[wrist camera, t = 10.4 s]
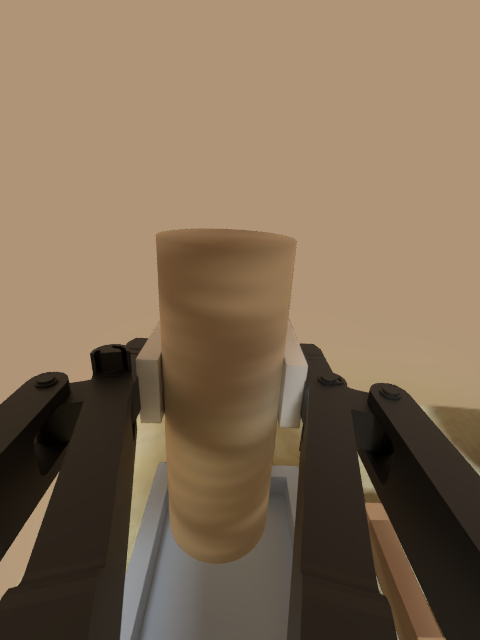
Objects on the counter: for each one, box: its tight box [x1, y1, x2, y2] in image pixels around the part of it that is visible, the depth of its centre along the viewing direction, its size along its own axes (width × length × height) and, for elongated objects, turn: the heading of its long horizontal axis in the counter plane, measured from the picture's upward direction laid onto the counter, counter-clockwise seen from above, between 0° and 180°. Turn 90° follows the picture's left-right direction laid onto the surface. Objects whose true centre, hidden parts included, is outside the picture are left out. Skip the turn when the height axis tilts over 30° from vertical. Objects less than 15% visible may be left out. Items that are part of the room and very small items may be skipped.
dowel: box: [156, 229, 297, 564], centre depth 13 cm, size 5×5×13 cm
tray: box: [120, 462, 299, 640], centre depth 18 cm, size 10×13×2 cm
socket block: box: [365, 503, 446, 640], centre depth 18 cm, size 8×8×2 cm
